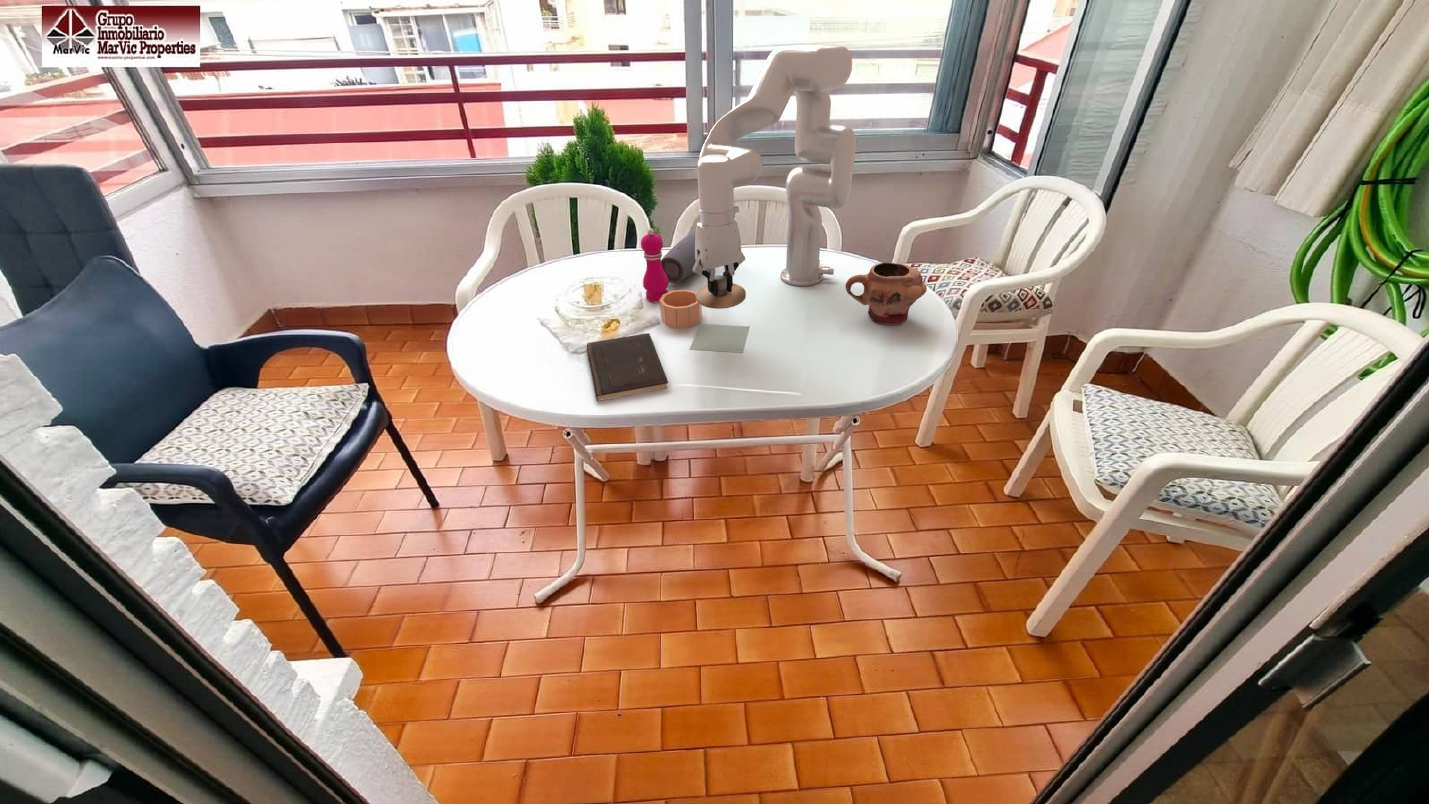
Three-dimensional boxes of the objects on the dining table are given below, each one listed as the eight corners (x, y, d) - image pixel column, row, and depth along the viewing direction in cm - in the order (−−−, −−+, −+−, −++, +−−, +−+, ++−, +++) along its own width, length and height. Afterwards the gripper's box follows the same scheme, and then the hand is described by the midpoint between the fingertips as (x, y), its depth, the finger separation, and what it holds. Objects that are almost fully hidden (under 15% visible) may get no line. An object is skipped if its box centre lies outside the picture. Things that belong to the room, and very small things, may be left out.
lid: (748, 286, 142) (748, 268, 139) (742, 309, 133) (741, 290, 130) (701, 284, 144) (699, 266, 141) (691, 307, 135) (689, 288, 132)
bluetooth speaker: (687, 289, 168) (685, 257, 163) (658, 285, 171) (655, 253, 165) (714, 260, 185) (713, 229, 180) (688, 257, 188) (686, 226, 182)
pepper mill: (671, 291, 167) (666, 224, 156) (667, 303, 162) (661, 233, 150) (647, 291, 168) (639, 223, 156) (642, 302, 162) (634, 233, 151)
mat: (749, 327, 149) (749, 326, 149) (742, 354, 139) (742, 352, 138) (700, 324, 151) (700, 323, 151) (689, 350, 141) (689, 349, 141)
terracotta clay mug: (846, 330, 146) (852, 279, 138) (838, 308, 156) (844, 259, 148) (925, 328, 146) (936, 277, 138) (913, 306, 156) (922, 257, 147)
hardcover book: (650, 340, 146) (649, 332, 145) (669, 390, 128) (668, 381, 127) (586, 351, 143) (585, 343, 142) (597, 403, 125) (595, 395, 124)
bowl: (704, 310, 157) (703, 290, 154) (696, 330, 149) (695, 309, 145) (667, 308, 159) (666, 288, 155) (657, 327, 150) (655, 307, 147)
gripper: (741, 203, 132) (742, 277, 143) (676, 218, 126) (682, 294, 138) (758, 213, 127) (758, 289, 138) (690, 229, 121) (696, 307, 132)
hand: (720, 291), depth 138 cm, fingers closed on lid, 3 cm apart
